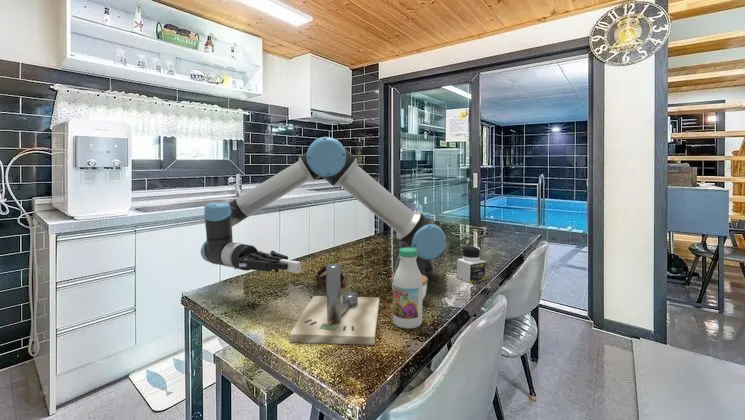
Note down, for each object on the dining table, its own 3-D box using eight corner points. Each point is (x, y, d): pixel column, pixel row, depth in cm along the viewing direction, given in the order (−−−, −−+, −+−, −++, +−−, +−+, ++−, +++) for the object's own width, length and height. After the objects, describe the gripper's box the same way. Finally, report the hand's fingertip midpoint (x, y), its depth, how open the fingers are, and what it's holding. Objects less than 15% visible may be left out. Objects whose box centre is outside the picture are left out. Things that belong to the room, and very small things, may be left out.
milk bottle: (401, 314, 99) (402, 244, 96) (427, 321, 95) (428, 248, 92) (387, 324, 93) (387, 250, 90) (413, 332, 89) (414, 254, 86)
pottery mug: (346, 291, 118) (334, 272, 115) (322, 302, 120) (309, 283, 117) (350, 272, 129) (338, 254, 126) (327, 281, 131) (316, 264, 128)
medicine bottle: (470, 283, 124) (471, 250, 122) (456, 277, 130) (457, 245, 129) (485, 280, 127) (486, 247, 126) (471, 274, 134) (472, 243, 132)
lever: (345, 299, 103) (345, 252, 101) (360, 300, 102) (359, 253, 100) (321, 322, 88) (320, 268, 86) (337, 325, 87) (336, 269, 85)
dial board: (379, 304, 106) (379, 296, 106) (374, 344, 83) (374, 335, 82) (313, 302, 108) (313, 295, 107) (289, 342, 84) (289, 333, 84)
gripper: (258, 263, 113) (315, 274, 101) (222, 274, 102) (281, 288, 90) (257, 240, 112) (314, 248, 100) (220, 249, 101) (279, 259, 89)
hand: (298, 267), depth 95 cm, fingers closed
